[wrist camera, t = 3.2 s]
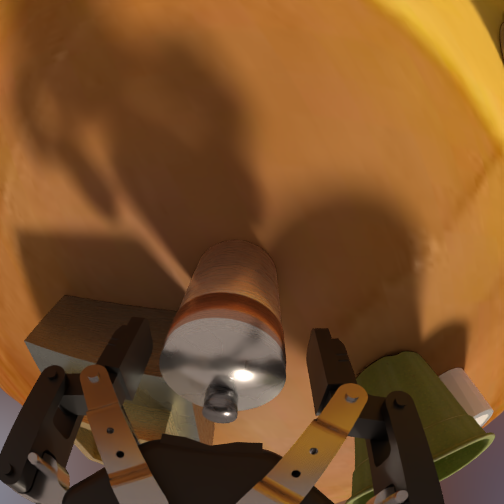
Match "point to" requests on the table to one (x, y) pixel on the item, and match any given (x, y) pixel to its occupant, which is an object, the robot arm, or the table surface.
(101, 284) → the table surface
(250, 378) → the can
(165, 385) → the grey block with socket
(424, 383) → the plant pot
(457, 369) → the white cylinder
